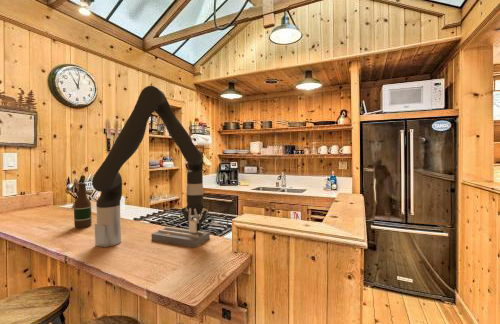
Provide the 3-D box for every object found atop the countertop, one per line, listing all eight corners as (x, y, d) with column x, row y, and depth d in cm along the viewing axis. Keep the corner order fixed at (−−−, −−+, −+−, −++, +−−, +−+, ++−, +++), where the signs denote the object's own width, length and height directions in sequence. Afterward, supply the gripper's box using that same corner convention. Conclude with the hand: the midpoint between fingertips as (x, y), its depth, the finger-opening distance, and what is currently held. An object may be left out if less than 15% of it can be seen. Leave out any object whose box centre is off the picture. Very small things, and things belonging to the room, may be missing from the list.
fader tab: (194, 236, 109) (194, 221, 109) (189, 235, 111) (189, 221, 110) (201, 233, 114) (200, 218, 114) (195, 232, 115) (195, 218, 115)
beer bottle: (83, 229, 130) (81, 184, 128) (70, 228, 131) (69, 184, 130) (95, 225, 137) (93, 182, 136) (83, 224, 139) (82, 182, 138)
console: (195, 247, 105) (195, 238, 105) (151, 240, 114) (151, 231, 114) (209, 238, 117) (209, 230, 116) (169, 232, 125) (168, 224, 125)
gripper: (177, 193, 111) (177, 230, 111) (203, 195, 105) (204, 234, 106) (187, 190, 118) (187, 226, 118) (212, 192, 112) (212, 229, 113)
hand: (195, 230), depth 112 cm, fingers closed on fader tab, 3 cm apart
